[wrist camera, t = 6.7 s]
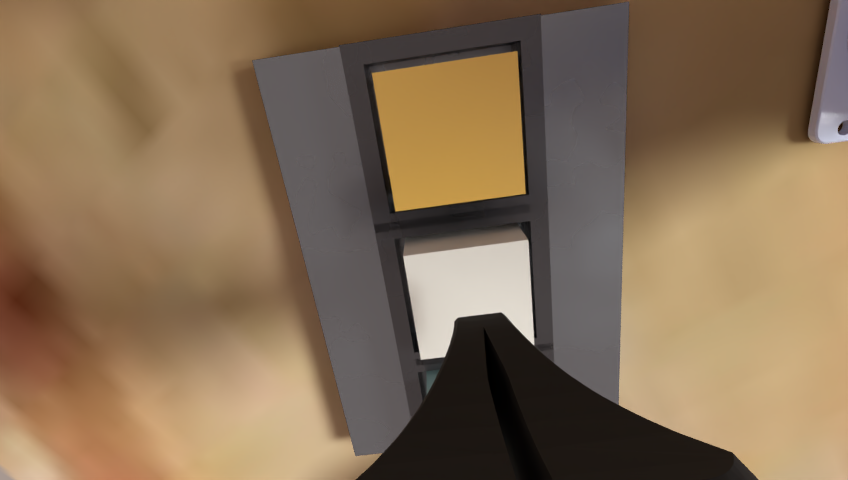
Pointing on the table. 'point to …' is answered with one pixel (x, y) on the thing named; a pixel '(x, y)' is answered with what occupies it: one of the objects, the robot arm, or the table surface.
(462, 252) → the cream button
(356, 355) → the button panel
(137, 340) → the table surface
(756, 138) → the table surface
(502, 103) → the amber button
